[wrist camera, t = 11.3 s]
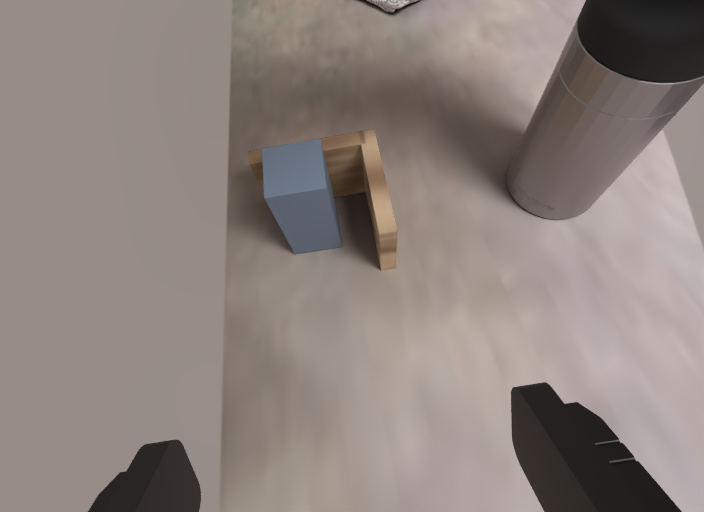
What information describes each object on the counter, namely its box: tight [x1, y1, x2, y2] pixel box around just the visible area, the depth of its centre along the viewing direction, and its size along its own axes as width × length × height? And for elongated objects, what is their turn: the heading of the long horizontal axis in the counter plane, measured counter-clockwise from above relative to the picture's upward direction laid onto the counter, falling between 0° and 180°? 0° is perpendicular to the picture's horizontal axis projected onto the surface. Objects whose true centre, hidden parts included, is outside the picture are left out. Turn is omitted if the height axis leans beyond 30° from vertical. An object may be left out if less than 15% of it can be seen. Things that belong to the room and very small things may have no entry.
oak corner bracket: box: [249, 129, 397, 270], centre depth 38 cm, size 11×12×8 cm
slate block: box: [262, 139, 342, 255], centre depth 36 cm, size 5×5×11 cm
